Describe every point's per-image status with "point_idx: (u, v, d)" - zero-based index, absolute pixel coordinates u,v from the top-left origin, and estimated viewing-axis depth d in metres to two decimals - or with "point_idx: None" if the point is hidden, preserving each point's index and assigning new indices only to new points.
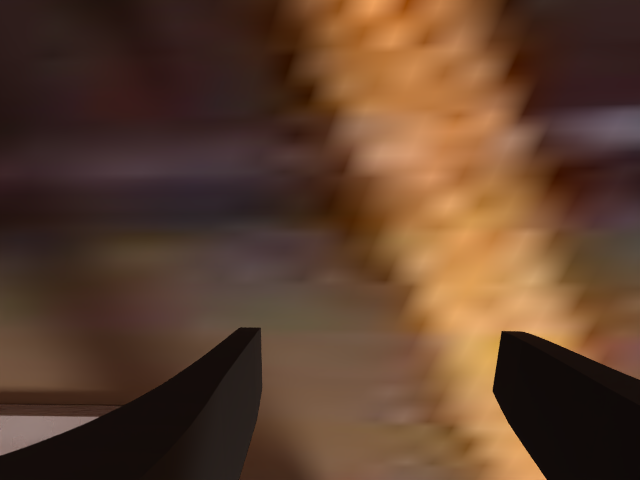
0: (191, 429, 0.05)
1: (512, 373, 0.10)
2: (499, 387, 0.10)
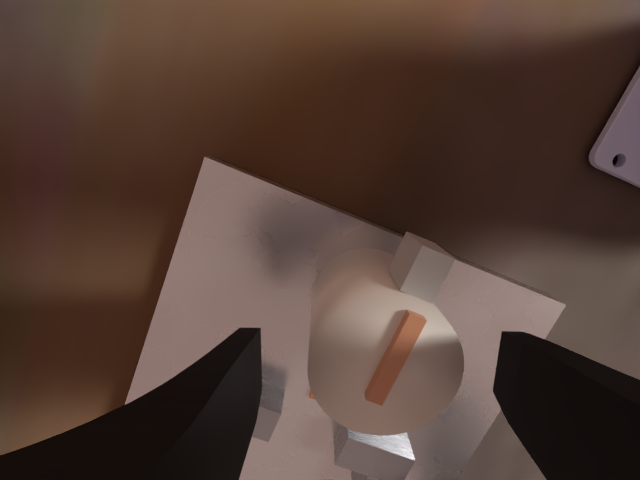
0: (191, 429, 0.05)
1: (512, 373, 0.10)
2: (499, 387, 0.10)
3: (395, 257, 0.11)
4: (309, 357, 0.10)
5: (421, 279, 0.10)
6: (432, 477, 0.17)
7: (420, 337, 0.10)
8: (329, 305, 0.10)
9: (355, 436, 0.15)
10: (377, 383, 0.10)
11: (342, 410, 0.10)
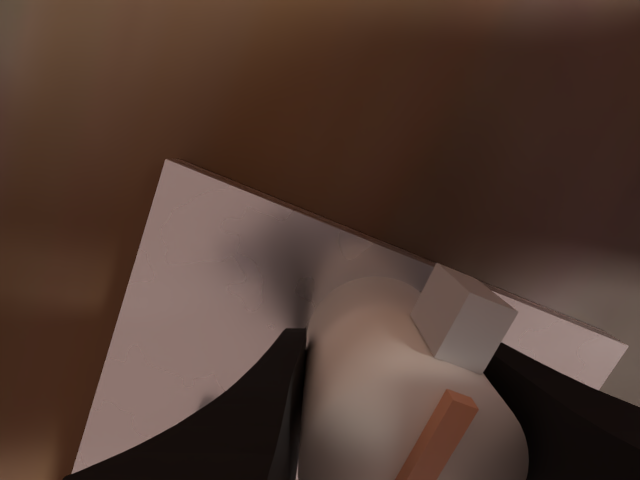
0: (281, 430, 0.05)
1: None
2: None
3: (421, 299, 0.08)
4: (300, 455, 0.07)
5: (466, 341, 0.06)
6: None
7: None
8: (329, 372, 0.07)
9: None
10: None
11: None
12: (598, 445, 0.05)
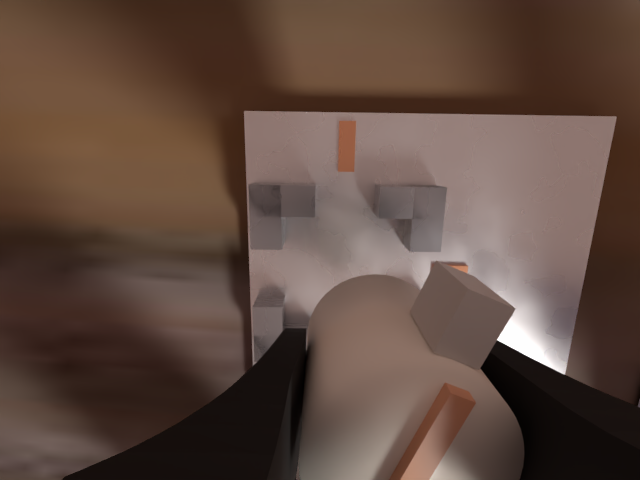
0: (281, 430, 0.05)
1: None
2: None
3: (420, 296, 0.08)
4: (301, 447, 0.07)
5: (464, 336, 0.07)
6: None
7: (462, 422, 0.07)
8: (329, 366, 0.07)
9: None
10: None
11: None
12: (598, 445, 0.05)
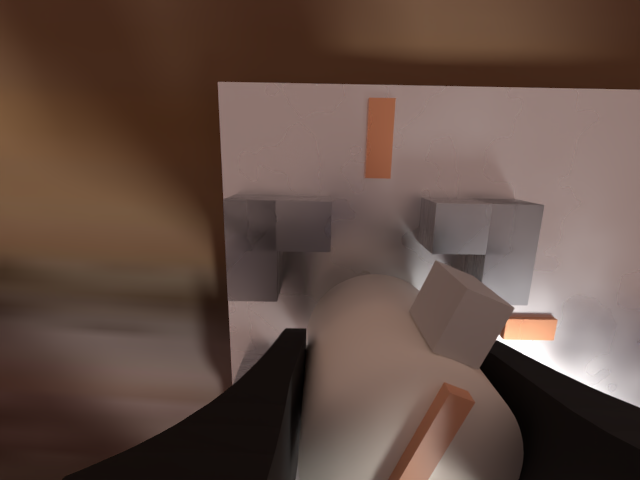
0: (281, 430, 0.05)
1: None
2: None
3: (420, 295, 0.08)
4: (301, 446, 0.07)
5: (464, 336, 0.07)
6: None
7: (462, 422, 0.07)
8: (329, 366, 0.07)
9: None
10: None
11: None
12: (598, 445, 0.05)
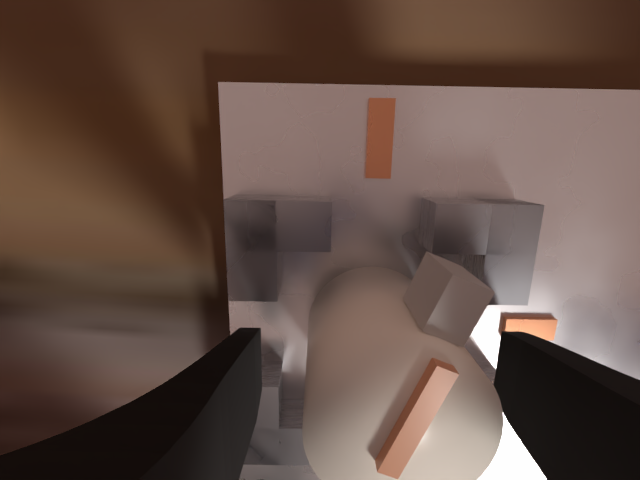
0: (191, 429, 0.05)
1: (512, 373, 0.10)
2: (499, 387, 0.10)
3: (412, 283, 0.09)
4: (304, 416, 0.08)
5: (450, 317, 0.07)
6: None
7: (448, 393, 0.07)
8: (330, 346, 0.08)
9: None
10: (392, 452, 0.07)
11: None
12: None
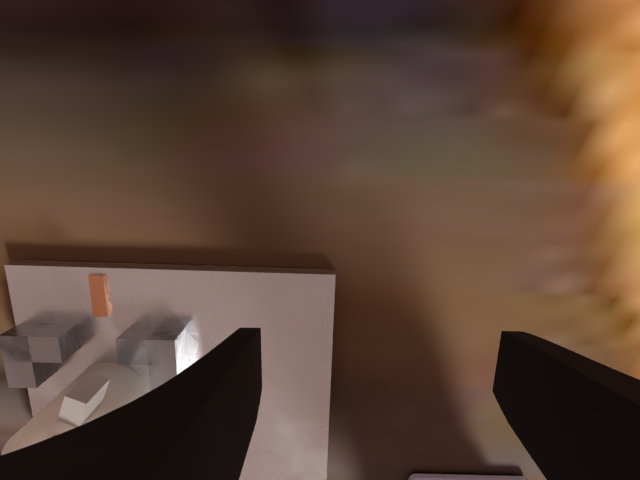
0: (191, 429, 0.05)
1: (512, 373, 0.10)
2: (499, 387, 0.10)
3: None
4: None
5: (68, 414, 0.16)
6: None
7: None
8: None
9: None
10: None
11: None
12: None
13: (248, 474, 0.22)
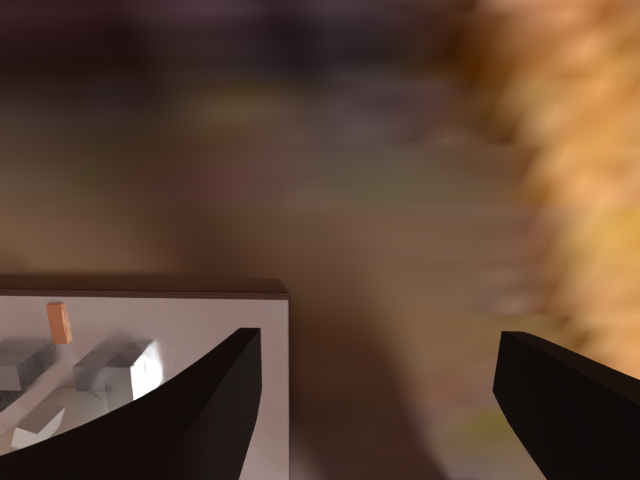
0: (191, 429, 0.05)
1: (512, 373, 0.10)
2: (499, 387, 0.10)
3: None
4: None
5: (20, 444, 0.16)
6: None
7: None
8: None
9: None
10: None
11: None
12: None
13: None
